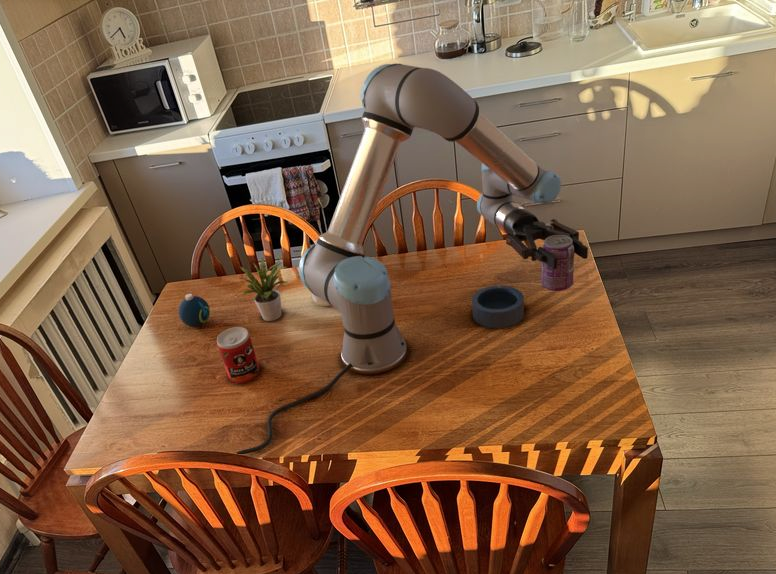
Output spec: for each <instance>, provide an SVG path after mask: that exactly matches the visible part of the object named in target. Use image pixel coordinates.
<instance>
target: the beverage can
mask: <svg viewBox="0 0 776 574" xmlns="http://www.w3.org/2000/svg"><path fill="white" fill-rule="evenodd" d="M543 241H544V242H543V245H542V246H541V247H542V248H543V249H545V250H546V251H548V252H549V253H551V254H552V255H554V256H555V257H556V258H557V268H556V269H552V268H551V267H550V266H548V265H547V264H546V263H544V262H541V286H542V287H543V288H544V289H546V290H548V291H553V292H562V291H565V290H569V289H570V288H572V286H574V272H575V270H574V269H575V253H574V245H573V240H572V238H571V237H569V236H566V235H553V236H550V237H548V238H546V239H545V240H543Z"/></svg>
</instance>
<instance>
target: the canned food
mask: <svg viewBox="0 0 776 574" xmlns="http://www.w3.org/2000/svg"><path fill="white" fill-rule="evenodd" d="M216 344H217V347H218V350H219V351H218V352H219V353H220V357H221V359H222V362H223V366H224V367H225V371H226V373H227V376H228V378H229V379H230V381H231V382H233V383H235V384H245V383H247V382H250V381H252V380H254V379H255V378H256V377H257V376H258V374H259V372H260V367H259V366H260V365H259V361H258V358H257V356H256V352H255V348H254V345H253V341H252V338H251V335H250V332H249V330H248V329H247V328H245V327H242V326H233V327H230V328H227V329H225V330H223V331H222V332H220V333H219V334H218V336H217V337H216Z"/></svg>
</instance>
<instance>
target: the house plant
mask: <svg viewBox="0 0 776 574" xmlns="http://www.w3.org/2000/svg"><path fill="white" fill-rule="evenodd" d="M283 258H284V257H281V258H279V260H277V261H276V262H275V263H274V265H271V266H270V267H269V268H268V269H267V266H266V264H265V263H266V262H265V258H264V257H261V261H260V266H259V267H260V269H259V267H258V266H257V265H256V264H255V263H253V262H252V264H253V265H254V266H253V267H254V268H255V270H256V272H257V274H256V276H259V279H260V282H261V283H260V282H259V280H258V279H257V278H256V277H255V275H253V274H252V272H251V271H249V270H248V269H246V268H245V267H243V266H239V268H240V269H241V270H242V272H244V274H245V275H246V276H247V277H248V278H245V277H240V279H241V280H244V281H246V282H247V283H248V284H246V287H247V288H248V289H247V290H245V291H243V293H242V295H247V294H252V293H253V294H254V293H255V296H253V300H254V303H255V305H256V307H257V309H258V311H259V313H260V315H261V317H262V319H263V321H266V322H272V321H276V320H278V319H280V318H281V317H282V314H283V312H282V299H281V292H280V290H278V289H279V288H280V287H281V286H282V285H283V284H287V285H288V284H289V282H288V281H285V280H279V281H277V280H278V279H279V277H281V276H283V274H279V273H280V272H281V270H282V269H285V268H287V266H280V267H279V265H281V263H282V262H281V261H282V260H283ZM269 271H270V273H269V274H267V273H268V272H269ZM276 286H278V287H277V288H276V289H274V288H275V287H276Z"/></svg>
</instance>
